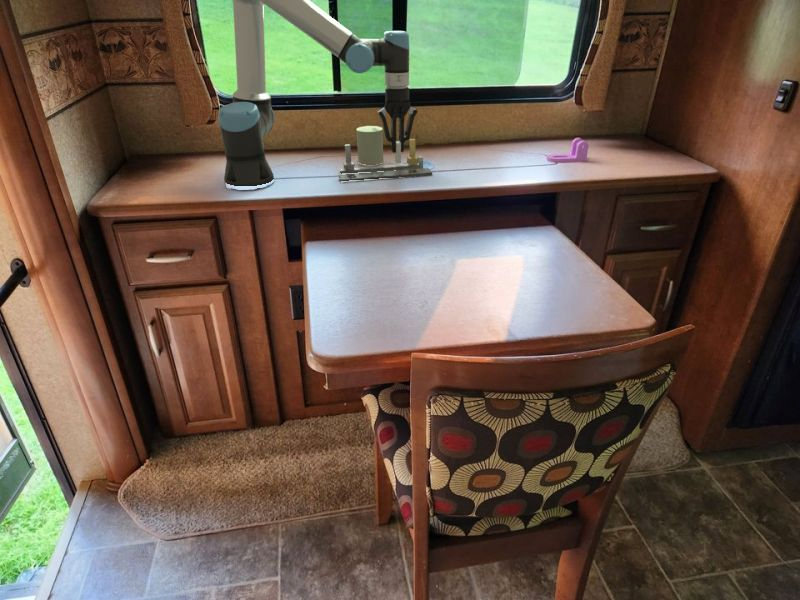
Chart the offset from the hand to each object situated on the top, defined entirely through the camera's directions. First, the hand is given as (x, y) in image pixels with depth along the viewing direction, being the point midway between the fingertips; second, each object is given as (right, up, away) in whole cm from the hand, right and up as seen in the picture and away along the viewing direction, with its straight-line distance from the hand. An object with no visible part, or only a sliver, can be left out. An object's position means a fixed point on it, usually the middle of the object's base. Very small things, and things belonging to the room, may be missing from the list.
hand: (397, 161), depth 174 cm
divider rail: (-5, -3, 0) cm, 6 cm away
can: (-10, +2, +10) cm, 14 cm away
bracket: (+59, +3, +9) cm, 60 cm away
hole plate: (-4, -6, -5) cm, 9 cm away
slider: (+5, 0, +1) cm, 5 cm away
